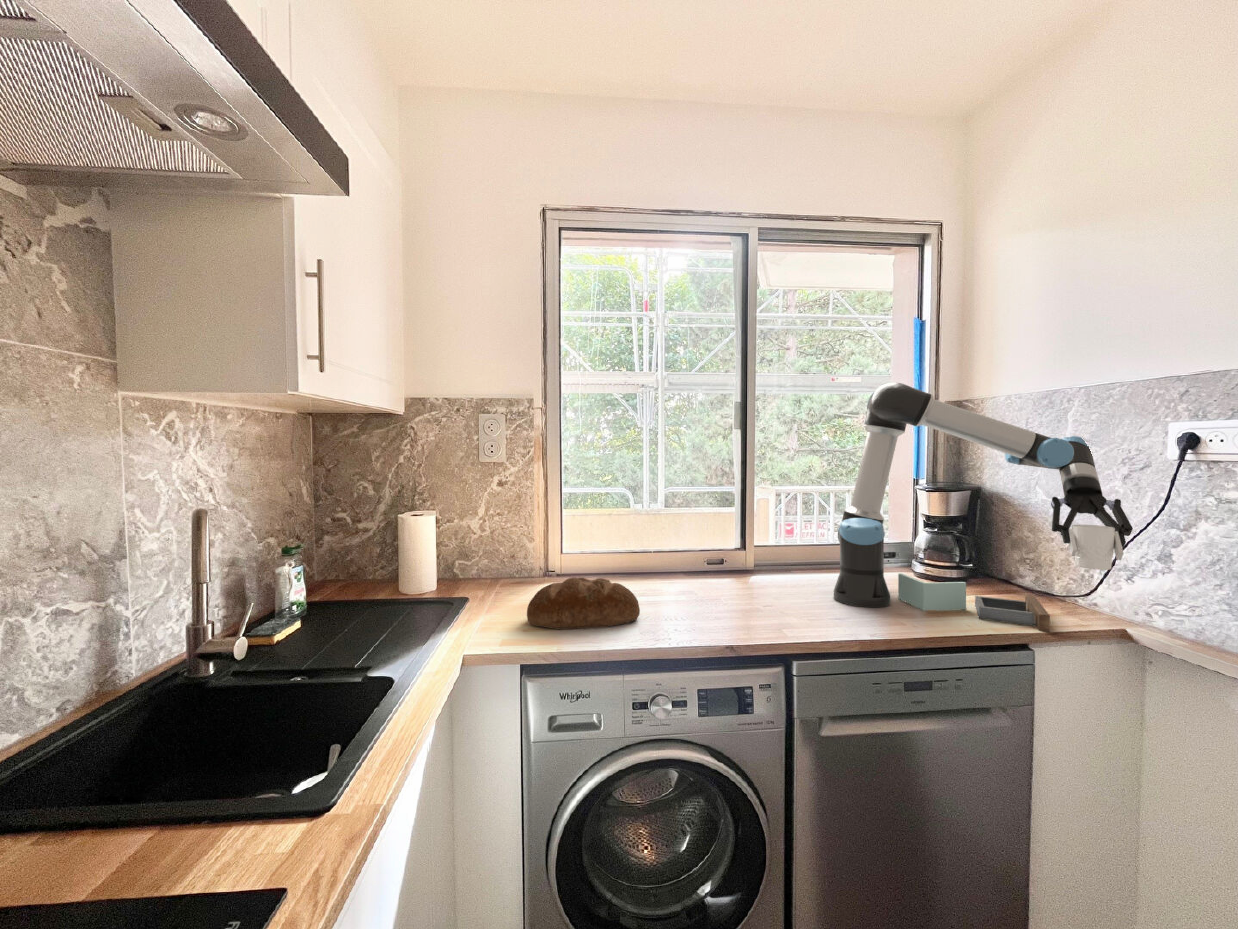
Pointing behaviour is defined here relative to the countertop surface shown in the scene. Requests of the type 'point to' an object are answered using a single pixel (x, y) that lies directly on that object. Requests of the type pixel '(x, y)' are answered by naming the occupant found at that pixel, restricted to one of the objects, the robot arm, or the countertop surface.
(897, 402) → the robot arm
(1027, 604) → the brown drawer face panel
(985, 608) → the gray square tray
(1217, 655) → the countertop surface
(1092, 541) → the white cup
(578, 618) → the bread
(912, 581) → the right angle wall
